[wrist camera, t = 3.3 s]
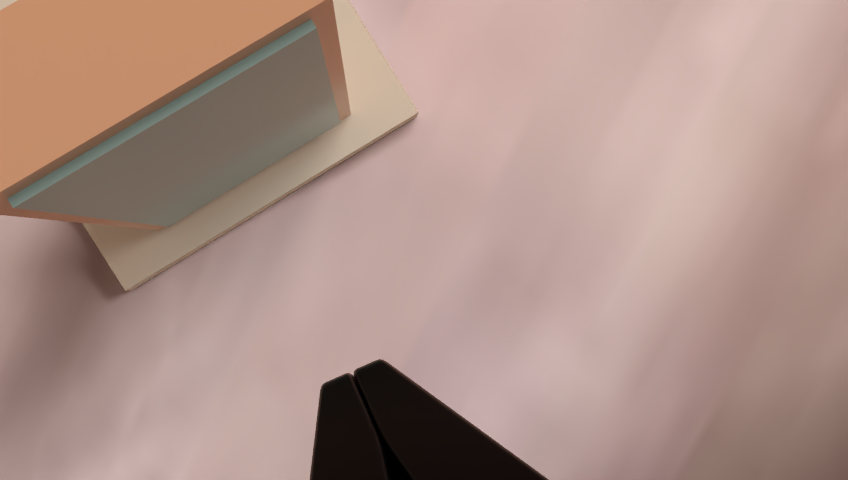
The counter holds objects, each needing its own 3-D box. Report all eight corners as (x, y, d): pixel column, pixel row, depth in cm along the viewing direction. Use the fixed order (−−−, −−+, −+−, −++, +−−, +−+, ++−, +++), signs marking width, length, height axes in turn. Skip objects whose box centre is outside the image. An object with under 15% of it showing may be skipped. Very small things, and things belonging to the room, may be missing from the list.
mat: (417, 116, 20) (418, 112, 20) (133, 289, 19) (125, 291, 19) (189, -251, 20) (184, -267, 19) (-107, -87, 19) (-122, -98, 19)
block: (353, 119, 19) (337, 5, 10) (162, 235, 19) (-27, 221, 10) (308, 45, 19) (251, -134, 10) (114, 159, 19) (-119, 78, 10)
